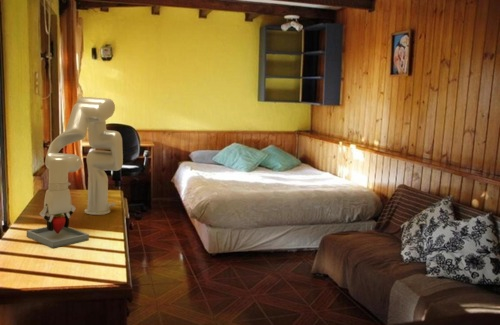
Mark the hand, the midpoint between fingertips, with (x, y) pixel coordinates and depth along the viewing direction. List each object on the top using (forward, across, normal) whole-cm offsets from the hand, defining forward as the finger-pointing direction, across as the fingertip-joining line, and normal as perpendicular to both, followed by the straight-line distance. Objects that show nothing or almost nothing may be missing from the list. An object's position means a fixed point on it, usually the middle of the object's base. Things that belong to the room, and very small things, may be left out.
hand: (58, 228), depth 198 cm
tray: (+4, 0, 0) cm, 4 cm away
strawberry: (+2, 0, 0) cm, 2 cm away
